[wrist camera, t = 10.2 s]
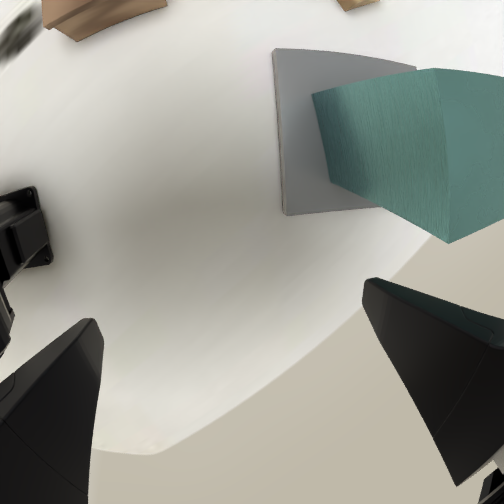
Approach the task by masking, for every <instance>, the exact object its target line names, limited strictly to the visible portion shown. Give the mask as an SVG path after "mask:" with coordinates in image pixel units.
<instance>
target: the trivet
mask: <svg viewBox="0 0 504 504" xmlns="http://www.w3.org/2000/svg"><path fill="white" fill-rule="evenodd" d="M272 57H273V67H274V79H275V91H276V103H277V116H278V130H279V145H280V161H281V179H282V198H283V213H284V214H285V215H286V216H293V215H302V214H311V213H321V212H330V211H341V210H351V209H362V208H373V207H381V206H379V205H377V204H375V203H373V202H371V201H369V200H367V199H365V198H363V197H361V196H359V195H357V194H355V193H352V192H350V191H348V190H346V189H344V188H342V187H340V186H337V185H335V184H333V183H331V182H330V179H329V173H328V168H327V163H326V158H325V153H324V148H323V143H322V138H321V134H320V129H319V125H318V120H317V116H316V112H315V107H314V103H313V99H312V95H311V94H313V93H316V92H320V91H323V90H327V89H331V88H334V87H338V86H342V85H346V84H350V83H354V82H359V81H363V80H368V79H372V78H377V77H382V76H387V75H392V74H398V73H404V72H410V71H416V70H417V69H416V67H415V66H411V65H407V64H403V63H398V62H394V61H389V60H384V59H379V58H373V57H367V56H361V55H354V54H347V53H339V52H330V51H319V50H305V49H279V48H275V49H274V50H273V52H272Z"/></svg>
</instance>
